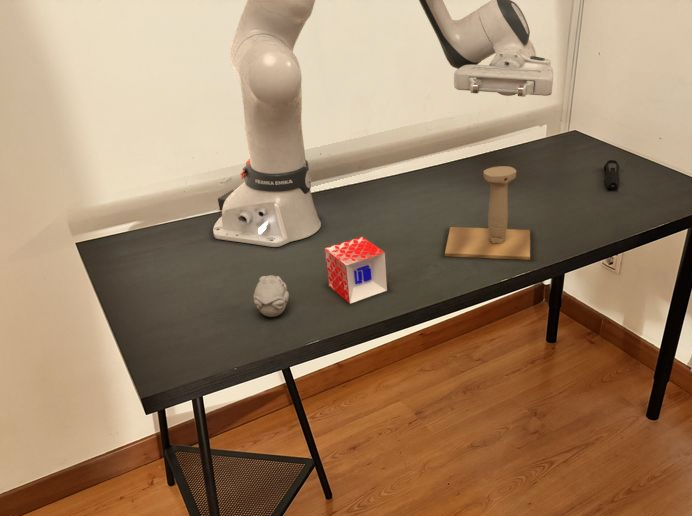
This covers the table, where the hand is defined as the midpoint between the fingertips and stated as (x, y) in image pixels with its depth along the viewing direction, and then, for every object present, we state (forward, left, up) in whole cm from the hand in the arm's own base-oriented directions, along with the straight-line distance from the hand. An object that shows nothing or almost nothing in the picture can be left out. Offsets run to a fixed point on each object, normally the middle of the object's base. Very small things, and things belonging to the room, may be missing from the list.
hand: (497, 90), depth 141 cm
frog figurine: (-37, -41, -28) cm, 62 cm away
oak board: (0, -11, -28) cm, 30 cm away
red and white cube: (-24, -31, -28) cm, 48 cm away
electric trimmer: (+28, +26, -28) cm, 48 cm away
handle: (+1, -11, -27) cm, 29 cm away
